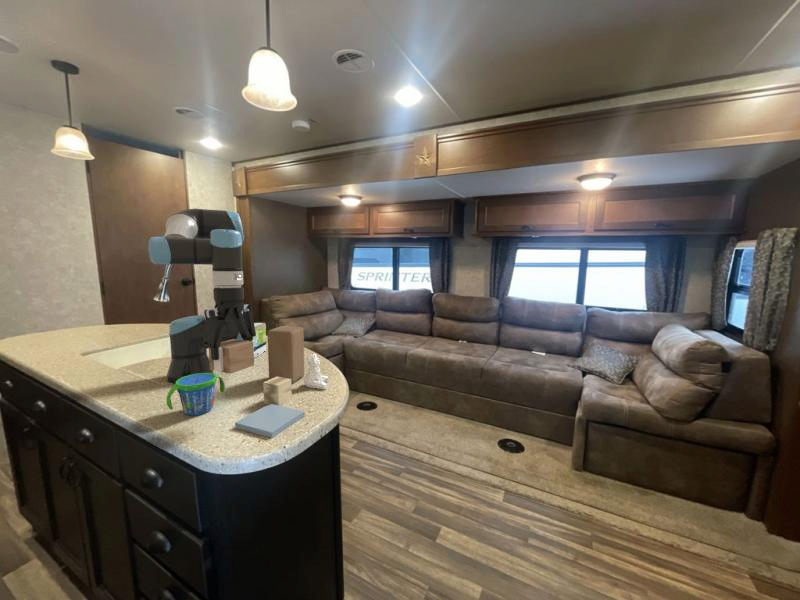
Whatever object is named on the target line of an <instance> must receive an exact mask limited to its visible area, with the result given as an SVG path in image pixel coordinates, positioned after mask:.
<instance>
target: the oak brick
mask: <svg viewBox="0 0 800 600" xmlns="http://www.w3.org/2000/svg"><path fill="white" fill-rule="evenodd" d="M262 385H263V404H265V405H269V404H274V405H278V406H282V405H284V404H286V403H287V402H290V401H291V400H292V397H293V396H292V391H293V390H292V388H293V387H292V384H291V379H288V378H282V377H275V378H272V379H270V380H269V379H268V380H266V381H264V382H263V384H262Z"/></svg>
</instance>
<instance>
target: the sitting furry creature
mask: <svg viewBox="0 0 800 600" xmlns="http://www.w3.org/2000/svg"><path fill="white" fill-rule="evenodd" d="M306 360H307V364H308V365H309V368H308V370H307V373H306V375H304V378H303V383H304V385H305V386H306V387H307V388H308V389H315V388H317V390H322V389H323V391H324V389H325V390H327V388H328V384H327V383H328V382H329V377H328V376H326V375H323V374H322V372H321V369H320V364H321V362H320V358H319V357H318V356H317V354H316V353H311V354H310V355H309V356H308V357H307V359H306ZM327 381H328V382H327Z"/></svg>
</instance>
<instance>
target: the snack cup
mask: <svg viewBox="0 0 800 600" xmlns="http://www.w3.org/2000/svg"><path fill="white" fill-rule="evenodd" d="M217 379H218V380H219V392H220V393H224V392H225V391H226V385H225V381H224V379H223V378H222V377H221V376H219V375H216V374H215V373H213V374H212V373H198V374H192V375H188V376H185V377H182V378H180V379H178V380H177V381H176V383H174V385H173V386H172V387H170V389H169V391H168V394H167V395H166V405H167V407H168V409H169V410H174V407H173V404H172V399H171V398H172V395H173V394H174V393H175V392H176V391H177V392H178V396H179V398H180V405H181V407H182V411H183V413H184V415H187V416H199V415H203V414H205V413H208V412H211V411H212V409H213V407H214V400H215V390H216V389H215V388H216V382H217Z"/></svg>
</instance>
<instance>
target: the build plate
mask: <svg viewBox="0 0 800 600" xmlns="http://www.w3.org/2000/svg"><path fill="white" fill-rule="evenodd" d="M305 415H306V414H305V411H304V410H299V409H296V408H291V407H287V406H282V405H281V406H278V405H274V404H266V405H264V406H263V407H262V408H260V409H258V410H255V411H254V412H252V413H250V414H247V416H245V417H243V418H241V419H239V420H236V422H234V427H235V429H239V430H241V431H245V432H250V433H253V434H256V435H257V434H258V435H260V436H265V437H268V438H272V439H273V438H274V437H276V436H277V435H279V434H280V433H282V432H284V431H285V430H286V429H288V428H289V427H290V426H291V427H292V425H294V424H296V423H297V422H298V421H300V420H302V419H303V418H304V417H305Z"/></svg>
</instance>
